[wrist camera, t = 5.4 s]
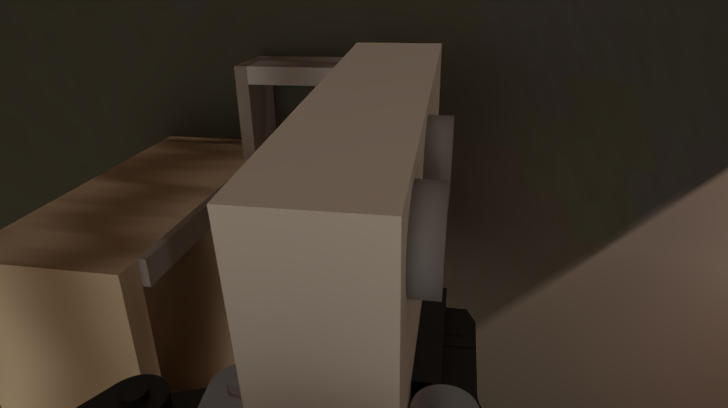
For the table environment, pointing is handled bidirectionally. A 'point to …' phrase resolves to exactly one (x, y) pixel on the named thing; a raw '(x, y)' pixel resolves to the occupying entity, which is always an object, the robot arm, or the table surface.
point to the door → (339, 235)
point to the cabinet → (131, 263)
